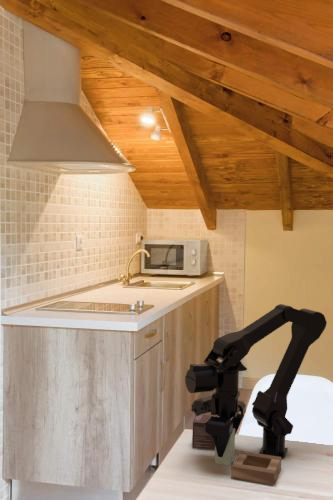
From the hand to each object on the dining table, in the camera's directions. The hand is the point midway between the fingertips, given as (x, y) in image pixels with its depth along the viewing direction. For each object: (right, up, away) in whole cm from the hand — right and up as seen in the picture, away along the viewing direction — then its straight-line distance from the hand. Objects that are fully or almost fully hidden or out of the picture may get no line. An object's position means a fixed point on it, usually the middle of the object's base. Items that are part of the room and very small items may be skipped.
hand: (225, 449), depth 156 cm
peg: (0, -3, 0) cm, 3 cm away
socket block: (+7, -3, -7) cm, 10 cm away
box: (-4, -2, +10) cm, 11 cm away
